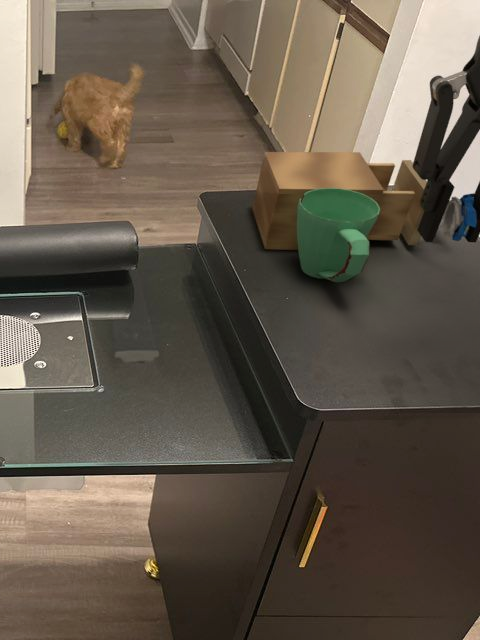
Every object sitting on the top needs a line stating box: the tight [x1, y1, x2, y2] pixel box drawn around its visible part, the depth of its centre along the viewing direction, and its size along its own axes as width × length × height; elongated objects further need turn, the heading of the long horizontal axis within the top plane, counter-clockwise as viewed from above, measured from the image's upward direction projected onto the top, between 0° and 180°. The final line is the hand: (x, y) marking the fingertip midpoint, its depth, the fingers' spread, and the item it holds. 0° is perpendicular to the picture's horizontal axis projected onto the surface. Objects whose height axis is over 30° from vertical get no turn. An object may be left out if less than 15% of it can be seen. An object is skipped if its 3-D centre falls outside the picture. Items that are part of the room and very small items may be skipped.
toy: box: [440, 192, 477, 242], centre depth 79 cm, size 5×4×5 cm
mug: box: [297, 188, 380, 283], centre depth 97 cm, size 15×10×10 cm
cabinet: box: [251, 151, 384, 251], centre depth 107 cm, size 14×13×10 cm
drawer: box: [366, 159, 451, 246], centre depth 106 cm, size 17×11×8 cm
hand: (446, 235), depth 80 cm, fingers closed on toy, 4 cm apart
